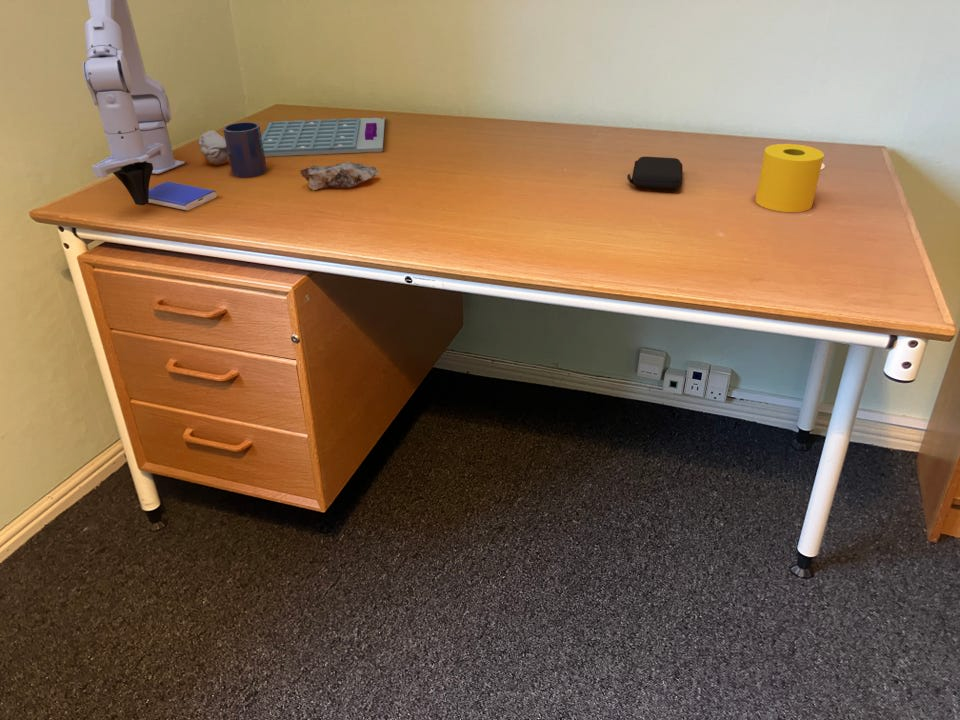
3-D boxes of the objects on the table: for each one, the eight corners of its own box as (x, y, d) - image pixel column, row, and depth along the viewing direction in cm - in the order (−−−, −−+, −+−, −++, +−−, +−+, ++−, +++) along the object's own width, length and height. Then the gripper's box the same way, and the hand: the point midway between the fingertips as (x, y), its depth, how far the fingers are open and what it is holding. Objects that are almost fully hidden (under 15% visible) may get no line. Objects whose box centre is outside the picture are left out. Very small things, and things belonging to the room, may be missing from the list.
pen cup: (224, 174, 158) (215, 129, 153) (247, 164, 164) (239, 120, 158) (251, 179, 155) (243, 133, 150) (274, 169, 161) (266, 124, 156)
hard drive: (136, 193, 145) (184, 203, 140) (168, 180, 151) (215, 189, 146) (138, 201, 146) (186, 211, 141) (170, 188, 152) (217, 197, 147)
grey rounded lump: (219, 157, 168) (212, 126, 164) (239, 163, 165) (233, 131, 161) (196, 164, 164) (189, 132, 160) (217, 170, 161) (210, 137, 157)
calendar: (272, 123, 191) (270, 114, 190) (385, 119, 193) (384, 109, 192) (254, 157, 168) (252, 146, 167) (382, 152, 170) (381, 141, 169)
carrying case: (629, 167, 158) (625, 191, 146) (630, 153, 157) (626, 176, 145) (681, 170, 156) (681, 195, 144) (683, 156, 155) (683, 179, 143)
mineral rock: (379, 176, 156) (377, 155, 153) (376, 189, 149) (373, 167, 147) (307, 178, 156) (304, 157, 153) (301, 192, 149) (298, 170, 147)
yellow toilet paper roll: (784, 216, 135) (795, 164, 130) (743, 198, 142) (752, 149, 137) (824, 205, 139) (836, 155, 134) (782, 189, 146) (792, 140, 141)
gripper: (104, 143, 125) (126, 220, 132) (170, 121, 136) (187, 194, 143) (75, 138, 127) (98, 214, 135) (141, 117, 138) (159, 188, 145)
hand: (142, 203), depth 139 cm, fingers closed
